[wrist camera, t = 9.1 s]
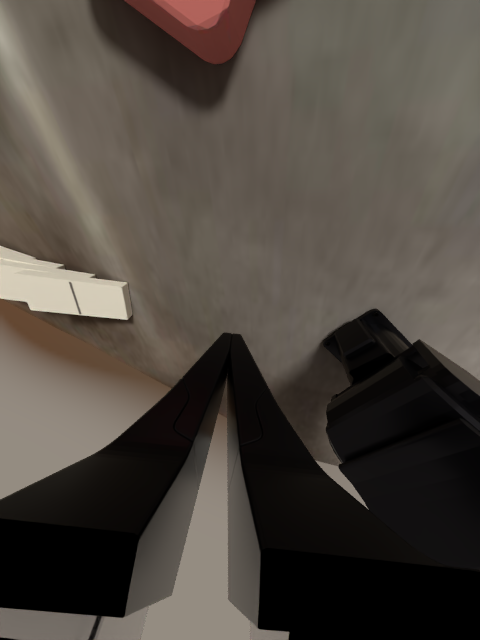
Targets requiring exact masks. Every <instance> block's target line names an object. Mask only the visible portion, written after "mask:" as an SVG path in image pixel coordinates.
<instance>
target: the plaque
mask: <svg viewBox="0 0 480 640" xmlns="http://www.w3.org/2000/svg"><path fill="white" fill-rule="evenodd" d="M124 1H125V2H127V3H128V4H129V5H131V6H132V7H133V8H135V9H136V10H137V11H139V12H140V13H141V14H143V15H144V16H145V17H147V18H148V19H149V20H151V21H152V22H153V23H155V24H156V25H157V26H159V27H160V28H161V29H163V30H164V31H165V32H167V33H168V34H169V35H171V36H172V37H173V38H175V39H176V40H177V41H179V42H180V43H181V44H183V45H184V46H185V47H187V48H188V49H189V50H191V51H192V52H193V53H195V54H196V55H197V56H199V57H200V58H201V59H203V60H204V61H206V62H209V63H211V64H222V63H224V62H226V61H228V60H229V59H231V58H232V57H233V56H234V54H235V53H236V51H237V50H238V48H239V46H240V45H241V43H242V40H243V37H244V34H245V31H246V28H247V25H248V22H249V19H250V17H251V14H252V11H253V8H254V5H255V2H256V0H124Z"/></svg>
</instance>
